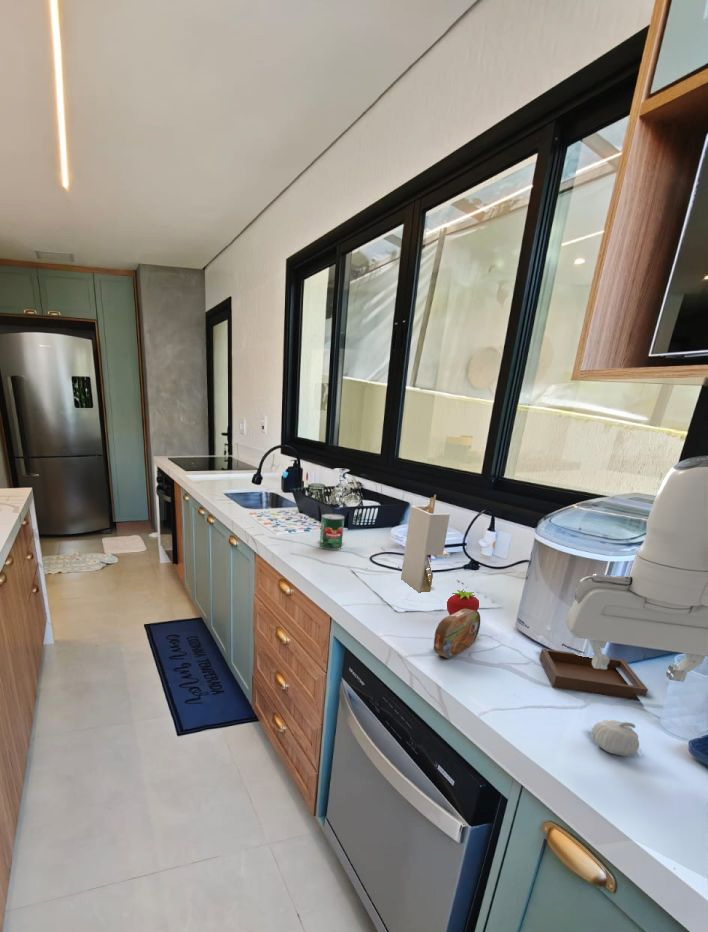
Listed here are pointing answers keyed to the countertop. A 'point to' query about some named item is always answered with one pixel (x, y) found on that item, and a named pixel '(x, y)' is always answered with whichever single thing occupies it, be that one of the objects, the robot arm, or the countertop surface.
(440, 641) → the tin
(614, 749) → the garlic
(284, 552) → the countertop surface
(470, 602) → the strawberry
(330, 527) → the canned tomato
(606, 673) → the tray
